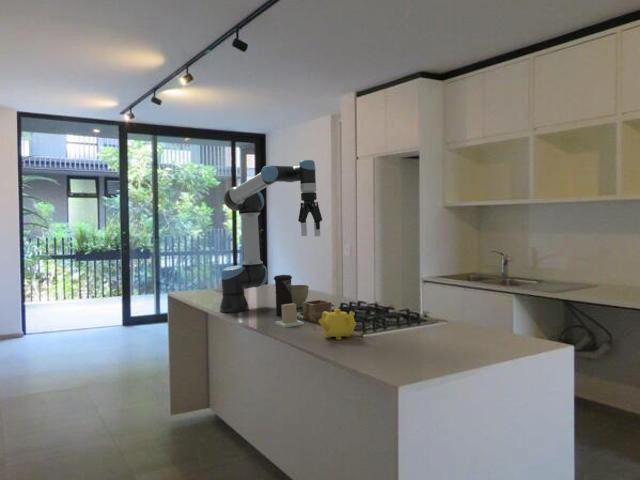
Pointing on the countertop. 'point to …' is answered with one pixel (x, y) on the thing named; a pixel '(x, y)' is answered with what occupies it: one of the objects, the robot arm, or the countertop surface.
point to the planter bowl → (299, 294)
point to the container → (283, 292)
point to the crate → (315, 309)
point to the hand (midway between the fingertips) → (310, 236)
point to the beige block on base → (289, 316)
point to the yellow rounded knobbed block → (337, 324)
